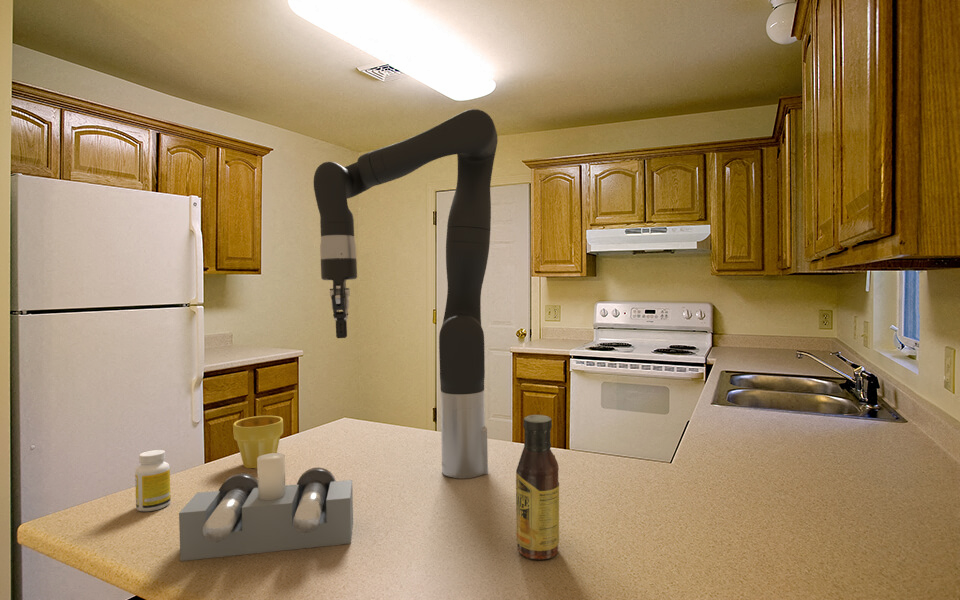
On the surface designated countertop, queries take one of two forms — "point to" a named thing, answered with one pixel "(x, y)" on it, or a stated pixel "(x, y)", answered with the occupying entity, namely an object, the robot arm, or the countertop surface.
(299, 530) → the knob
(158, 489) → the supplement bottle
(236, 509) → the knob
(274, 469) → the white cylinder
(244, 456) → the plant pot
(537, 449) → the sauce bottle
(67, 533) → the countertop surface
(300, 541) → the slotted grey stand
